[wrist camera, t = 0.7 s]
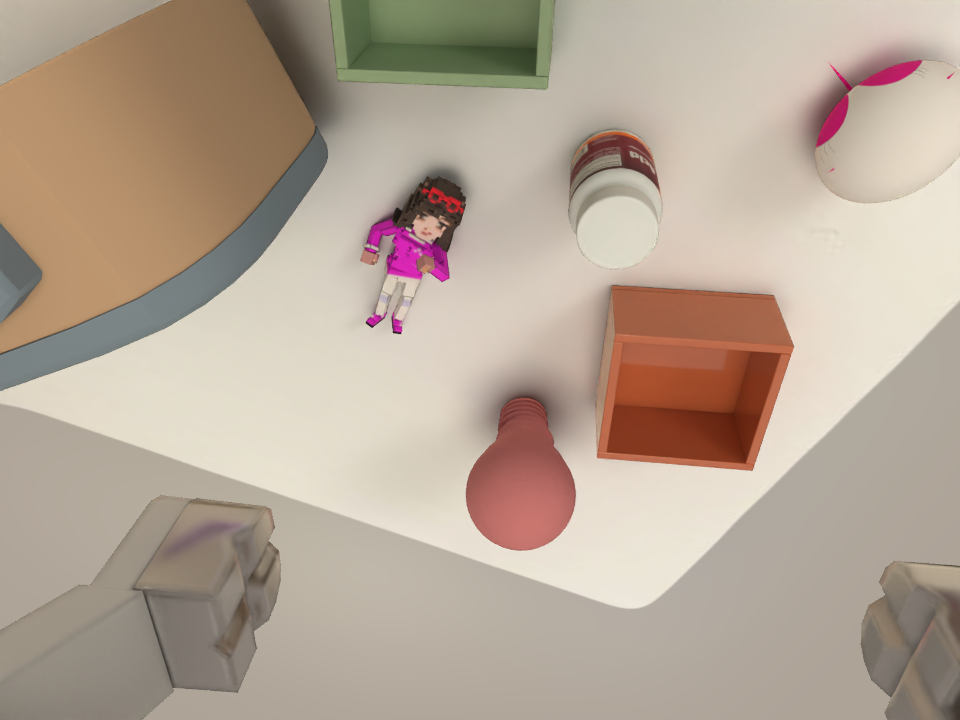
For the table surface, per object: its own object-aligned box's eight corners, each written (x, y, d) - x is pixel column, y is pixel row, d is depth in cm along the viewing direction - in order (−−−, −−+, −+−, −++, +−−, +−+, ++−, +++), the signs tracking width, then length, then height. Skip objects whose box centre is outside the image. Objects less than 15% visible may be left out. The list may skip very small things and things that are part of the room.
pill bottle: (666, 183, 42) (682, 253, 36) (591, 217, 44) (593, 290, 37) (634, 111, 40) (644, 172, 33) (556, 150, 42) (551, 215, 35)
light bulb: (582, 377, 52) (583, 506, 42) (568, 449, 56) (566, 580, 46) (483, 365, 52) (462, 490, 42) (477, 437, 56) (456, 565, 47)
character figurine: (427, 319, 51) (489, 183, 43) (409, 369, 48) (472, 230, 39) (351, 288, 51) (399, 143, 42) (327, 336, 47) (374, 187, 39)
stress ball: (897, 22, 39) (897, -15, 33) (1001, 133, 37) (1020, 115, 32) (775, 125, 43) (757, 108, 37) (866, 231, 41) (861, 230, 35)
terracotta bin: (611, 284, 47) (614, 334, 42) (774, 295, 46) (794, 346, 42) (595, 404, 53) (596, 458, 49) (738, 415, 52) (752, 471, 48)
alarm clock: (98, 235, 49) (-162, 467, 32) (-8, 102, 44) (-384, 291, 27) (360, 124, 42) (210, 342, 25) (270, -48, 37) (7, 78, 20)
